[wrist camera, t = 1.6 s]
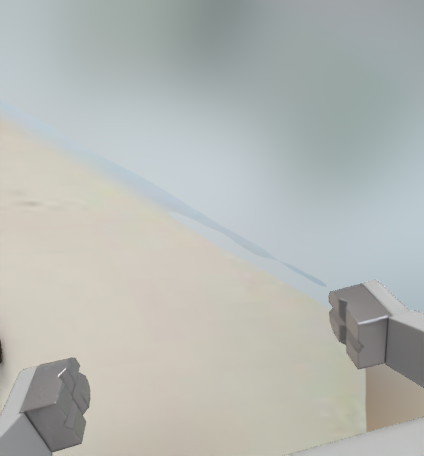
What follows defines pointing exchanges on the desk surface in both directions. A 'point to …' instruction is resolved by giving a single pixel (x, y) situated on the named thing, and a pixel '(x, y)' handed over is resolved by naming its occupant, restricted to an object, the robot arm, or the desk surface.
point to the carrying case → (0, 353)
